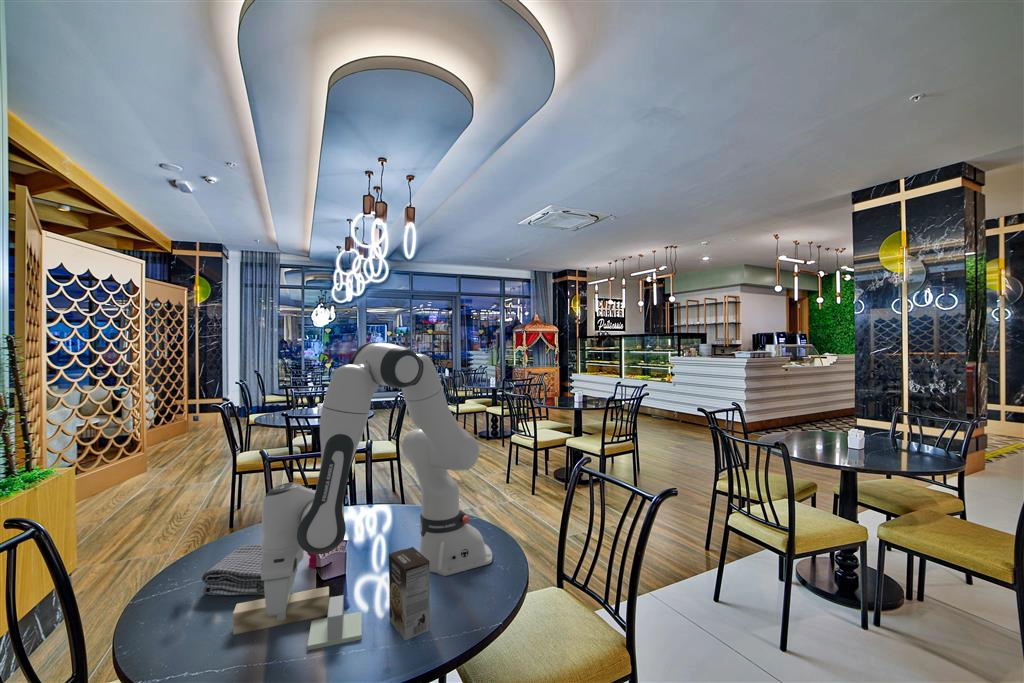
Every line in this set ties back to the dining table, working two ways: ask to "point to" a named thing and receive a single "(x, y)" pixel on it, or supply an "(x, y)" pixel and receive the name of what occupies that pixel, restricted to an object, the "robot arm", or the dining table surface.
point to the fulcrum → (335, 626)
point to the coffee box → (409, 592)
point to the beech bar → (297, 609)
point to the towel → (236, 573)
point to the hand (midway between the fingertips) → (283, 611)
